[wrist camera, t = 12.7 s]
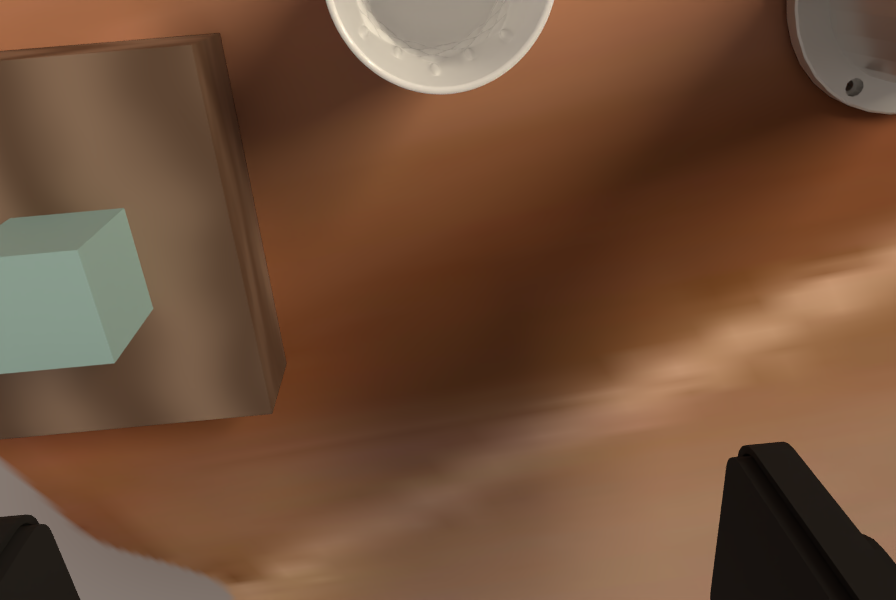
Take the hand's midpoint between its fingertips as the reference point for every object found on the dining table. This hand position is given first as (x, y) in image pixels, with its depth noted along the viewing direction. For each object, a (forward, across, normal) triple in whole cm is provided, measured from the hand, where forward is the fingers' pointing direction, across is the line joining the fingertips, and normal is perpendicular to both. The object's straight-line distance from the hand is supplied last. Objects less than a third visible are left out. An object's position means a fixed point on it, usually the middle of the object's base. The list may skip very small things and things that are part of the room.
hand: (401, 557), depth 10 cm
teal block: (+23, +15, +4) cm, 28 cm away
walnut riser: (+28, +15, +4) cm, 32 cm away
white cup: (+28, -2, -7) cm, 29 cm away
